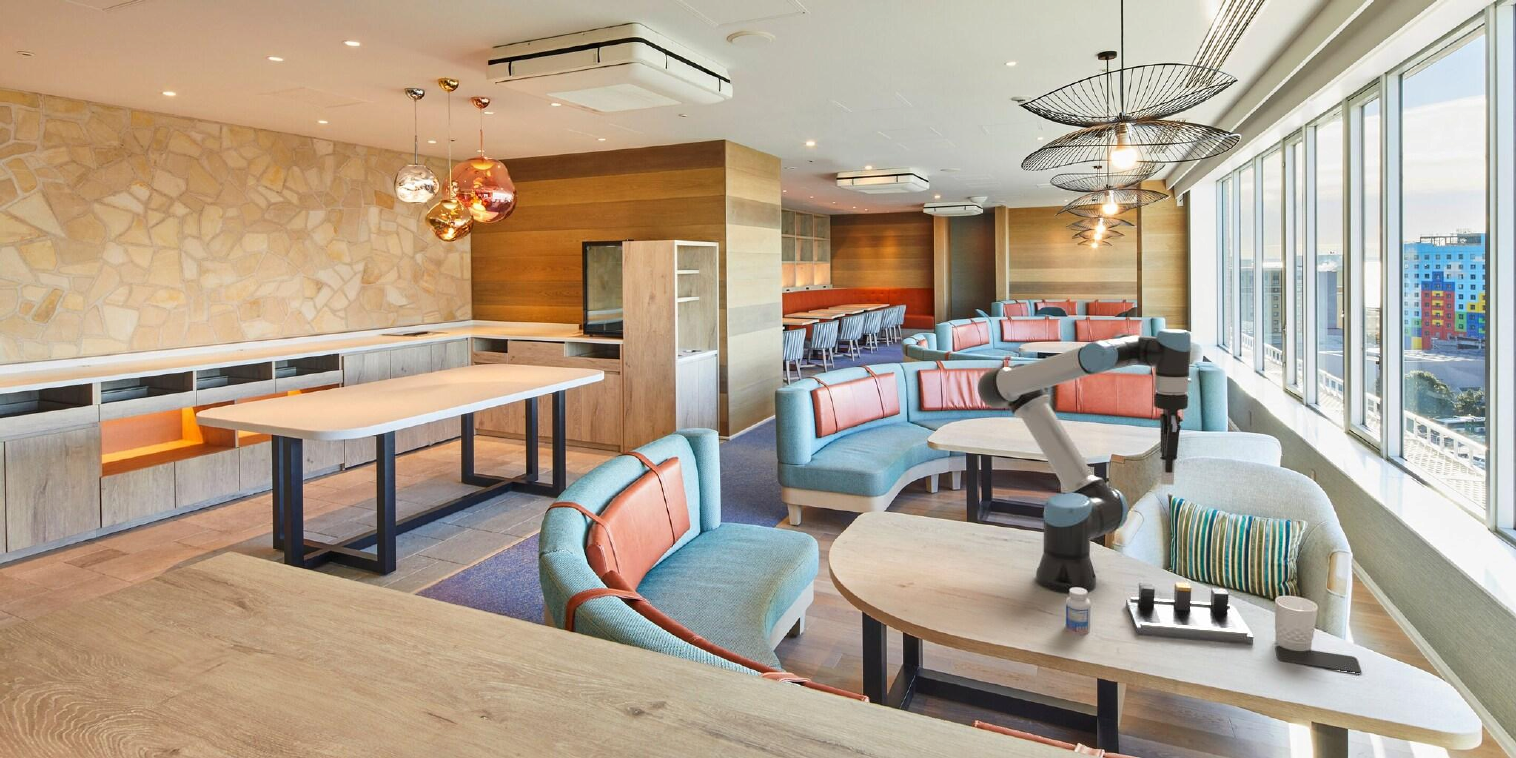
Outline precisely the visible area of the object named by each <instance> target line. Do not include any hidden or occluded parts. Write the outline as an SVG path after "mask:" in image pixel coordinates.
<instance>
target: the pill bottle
mask: <svg viewBox="0 0 1516 758" xmlns="http://www.w3.org/2000/svg"><path fill="white" fill-rule="evenodd" d="M1068 595H1069V597H1067V598H1066V601H1065V629H1067V631H1069V632H1070V633H1073V634H1078V635H1085V634H1087V633H1089V632H1090V631H1091V610H1092V609H1091V600H1090V599H1089V598H1088V596H1089V595H1088V592H1087V590H1085V589H1083V588H1079V587H1074V588H1071V589H1070V590H1069V593H1068Z"/></svg>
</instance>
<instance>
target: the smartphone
mask: <svg viewBox="0 0 1516 758" xmlns="http://www.w3.org/2000/svg"><path fill="white" fill-rule="evenodd" d="M1275 654H1276V655H1275V656H1276V659H1277V660H1278V661H1279V662H1283V663H1289V664H1294V665H1300V666H1307V667H1311V668H1316V669H1317V668H1318V669H1322V668H1323V669H1324V670H1329V671H1333V670H1340V671H1347V672H1355V673H1361V674H1362V669H1361V667H1360V666H1361V665H1360V662H1359V660H1358V658H1357V657H1355V656H1352V655H1346V654H1339V653H1333V652H1326V651H1325V652H1324V651H1319V650H1312V649H1311V650H1307V651H1295V650H1290V649H1286V648H1283V647H1281V646H1278V645H1276V646H1275Z"/></svg>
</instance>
